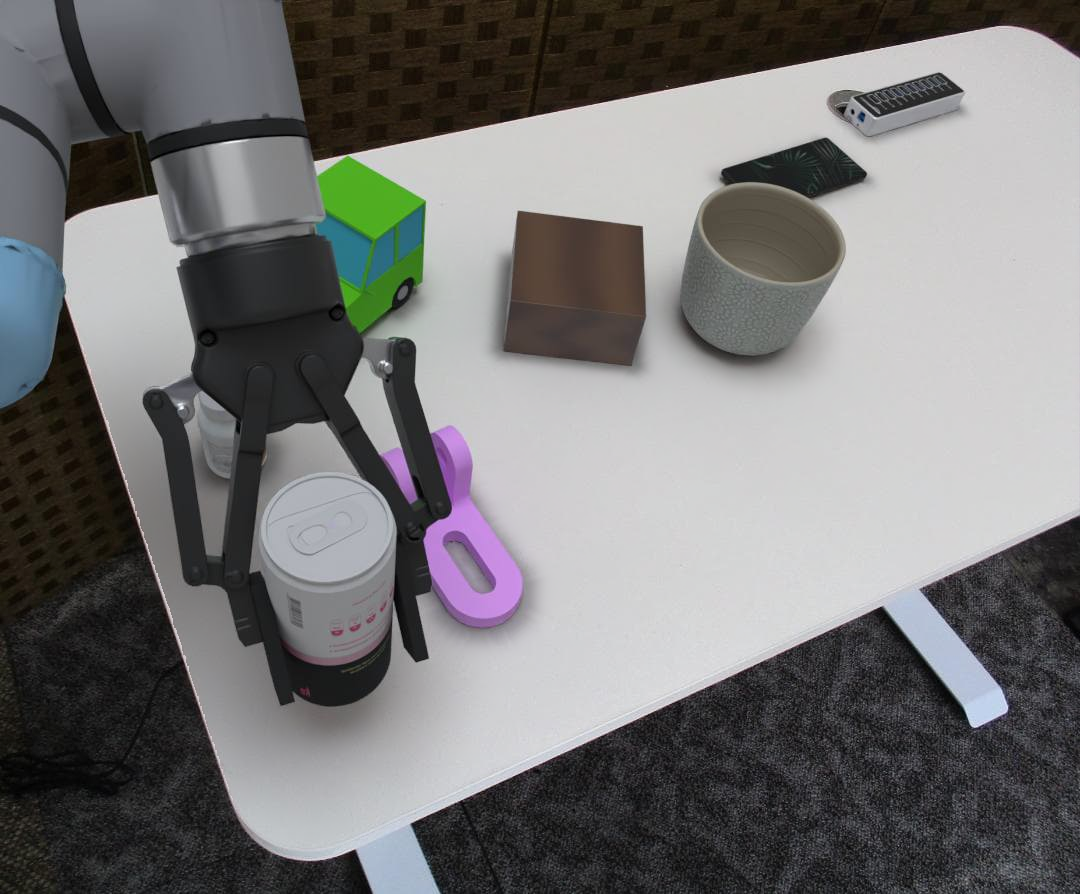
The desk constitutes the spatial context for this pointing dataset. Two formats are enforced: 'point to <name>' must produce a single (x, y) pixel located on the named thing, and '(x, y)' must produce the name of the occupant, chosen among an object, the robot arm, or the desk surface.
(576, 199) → the desk surface
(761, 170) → the smartphone
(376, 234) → the toy car
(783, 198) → the planter
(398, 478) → the bracket
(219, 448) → the pill bottle
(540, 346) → the riser
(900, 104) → the multiport hub
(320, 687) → the beverage can
